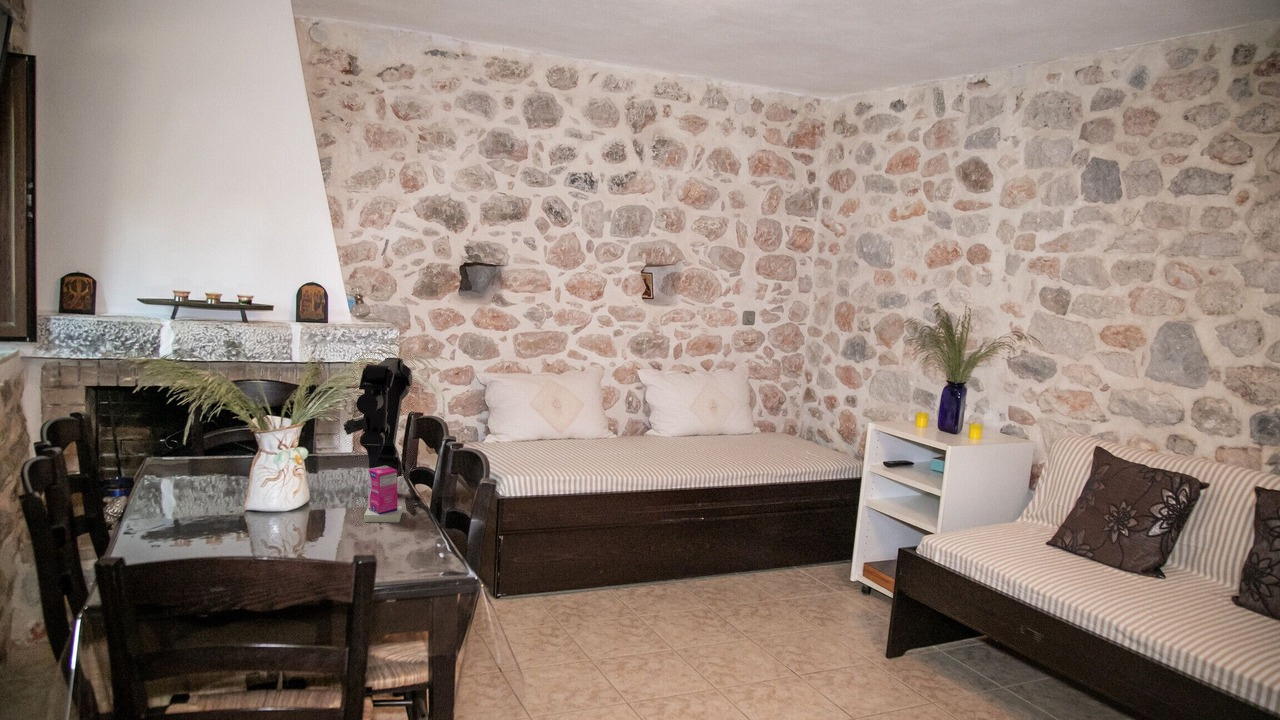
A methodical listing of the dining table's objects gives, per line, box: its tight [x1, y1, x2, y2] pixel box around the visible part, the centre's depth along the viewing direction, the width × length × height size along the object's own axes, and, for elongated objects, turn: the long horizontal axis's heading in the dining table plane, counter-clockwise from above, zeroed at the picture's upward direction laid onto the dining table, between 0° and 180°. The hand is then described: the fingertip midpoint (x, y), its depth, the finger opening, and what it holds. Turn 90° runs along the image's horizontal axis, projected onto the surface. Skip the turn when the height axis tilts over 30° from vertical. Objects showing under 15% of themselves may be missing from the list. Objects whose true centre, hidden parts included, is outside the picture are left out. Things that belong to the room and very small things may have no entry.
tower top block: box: [363, 505, 403, 523], centre depth 224 cm, size 9×9×2 cm
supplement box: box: [367, 465, 399, 514], centre depth 223 cm, size 6×6×12 cm
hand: (374, 463), depth 235 cm, fingers open, 9 cm apart
